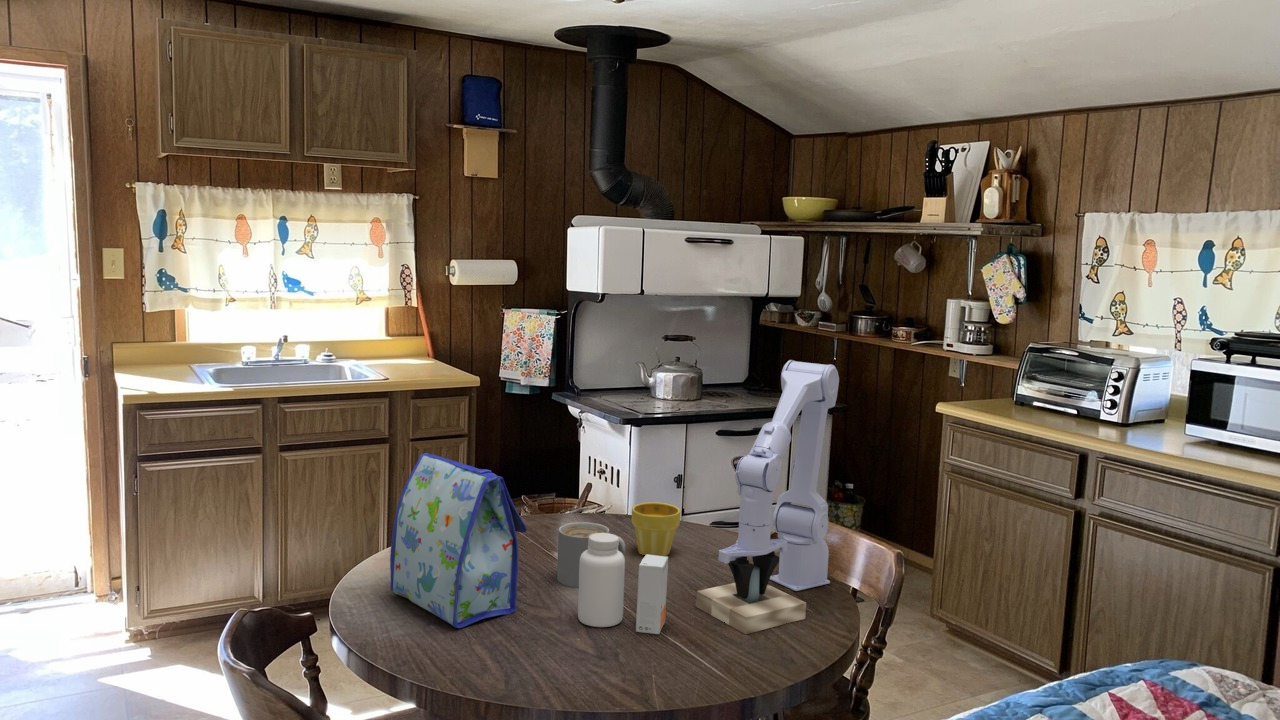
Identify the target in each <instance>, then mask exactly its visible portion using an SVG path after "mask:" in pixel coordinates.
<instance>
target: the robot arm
mask: <svg viewBox="0 0 1280 720" xmlns="http://www.w3.org/2000/svg"><path fill="white" fill-rule="evenodd" d="M780 382H781V383H780V385H781V386H780V387H781V390H782V393H781V396H780V398H779V400H778V404H777V406H776V409H775V411H774V414H773V417H772V420H771V421H769V422H767V423H765V424H763V425H762V427H761V429H760V431H759V432H758V435H757V437H756V439H755V441H754V442H753V445H752V447H751V449H750V451H749V453H748V454H746V455H745V456H742V457H741V458H740V459H739V461H738V462H737V465H736V469H735V473H734V477H735V478H734V479H735V482H736V484H737V494H738V496H739V499H740V500H739V515H738V517H739V518H738V519H739V520H738V537H737V539H736V541H735V543H734V544H732V545H730V546H728V547H726V548H723V549H719V550H718V562H721V563H723V564H726V565H728V567H729V569H730V572H731V574H732V577H733V580H734V583H735V585H736V590H737V595H738V596H740V597H742V598H744V599H746V598H747V597H748V594H749V583H750V578H751V574H752V571H753V568H754V566H756V567H759V568H760V581H759V594H761V595H763V594H765V591H766V588H767V585H769V581H772V582H775V583H776V584H779V585H781V586H784V587H785V588H788V589H790V590H792V591H795V592H798V591H803V590H807V589H811V588H815V587H819V586H823V585H824V586H825V585H828V584H831V581H830V580H829V579H828V571H829V569H828V568H829V555H830V552H829V550H830V549H829V546H828V544H827V542H826V540H825V539H824V538H825V537H826V535H827V532H828V529H829V517H828V516H829V515H828V512H829V504H828V503H827V501H826V500H825V499H824V498H823V497H822V495H820V493H819V492H818V491H817V489H818V479H819V472H820V466H821V465H820V464H821V459H822V452H823V445H824V437H825V430H826V424H827V416H828V411H829V409H832V408H834V407H835V406H836V401H837V398H838V392H839V383H840V377H839V372H838V369H837V368H836V366H835V365H834V364H823V363H822V364H821V363H815V362H814V363H813V362H812V363H811V362H805V361H804V362H803V361H796V360H793V359H789V360H788V361H787V362H786V363H785V364H784V365H783V367H782V370H781V375H780ZM800 412H801V413H800ZM799 414H801V415H800V422H799V429H798V430H799V431H798V434H797V435H798V437H797V444H796V450H795V457H794V459H795V460H794V464H793V473H792V478H791V479H792V480H791V486H790V489H788V490H787V491H784V492H782V493H781V494H780V495H779V496H778V498H777V501H776V505H775V508H774V510H773V494H774V493H773V492H774V490H775V489H776V487H778V486H777V485H778V484H779V481H780V476H781V472H782V471H781V470H782V467H783V463H782V461H783V460H782V459H783V458H784V456H785V454H786V451H787V449H788V447H789V445H790V443H791V441H792V434H791V432H790V429H791V428H792V426H793V424H794V423H795V421H796V420H797V418H798V416H799ZM802 505H803V506H802ZM772 512H773V514H772ZM772 527H773V531H774V532H775V533H777V538H771V528H772ZM778 552H779V555H776V554H775V553H778ZM748 558H752V563H751V562H750V561H749V559H748ZM777 565H778V574H774V575H772V574H773V572H774V570H776V567H777Z"/></svg>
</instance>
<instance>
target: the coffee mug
mask: <svg viewBox="0 0 1280 720" xmlns="http://www.w3.org/2000/svg"><path fill="white" fill-rule="evenodd" d="M557 531H558V532H557V533H558V534H557V535H558V536H557V537H558V538H557V539H558V540H557V566H556V567H557V570H556V571H557V572H556V573H557V574H556V575H557V576H556V579H557V582H558V583H559V584H561V585H564V586H566V587H570V588H577V589H579V565H580V557H581V554H582V553H583V552H584V551H586V550H588V538H589V536H590V535H592V534H595V533H609V534H610V528H609V527H608V526H606V525H603V524H601V523H596V522H588V521H587V522H586V521H581V522H580V521H578V522H577V521H576V522H570V523H569V522H568V523H565V524H562V525H561V526H560V527H559V528H558V530H557ZM618 538H619V546H618V549H617V550H618V551H620V552H621V553H622V554H623V556H624V557H625V555H626V544H625V541H624V540H623V538H621V537H620V536H618Z"/></svg>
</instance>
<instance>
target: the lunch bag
mask: <svg viewBox="0 0 1280 720" xmlns="http://www.w3.org/2000/svg"><path fill="white" fill-rule="evenodd" d="M527 528H528V527H527V525H526V523H525V522H524V519H523V518H522V517H521V515H520V514H519V512H518V511H517V508H516V506H515V505H514V503H513V500H512V498H511V495H510V493H509V491H508V488H507V486H506V483H505V480H504V477H503V476H499V475H497V474H495V473H493V472H492V470H490V469H485V468H484V469H483V468H477V467H474V466H473V465H472V466H471V465H468V464H464V463H461V462H458V461H456V460H454V459H453V460H452V459H449V458H445V457H442V456H438V455H436V454H432V453H431V454H430V453H429V452H425V453H422V454H420V456H419V458H418V459H417V461H416V462H415V465H414V467H413V469H412V471H411V473H410V475H409V477H408V479H407V480H406V483H405V484H404V486H403V489H402V492H401V495H400V497H399V500H398V504H397V508H396V511H395V516H394V523H393V529H392V534H391V535H392V536H391V545H390V557H389V558H390V559H389V560H390V561H389V562H390V567H389V568H390V590H391V592H393V593H394V594H396V595H398V596H399V597H403V598H404V599H408V600H409V601H410V602H411V603H413V604H415V605H417V606H419V607H420V608H422V609H424V610H425V611H428V612H429V613H431V614H433V615H435V616H436V617H438V618H440V619H441V620H443V621H444V622H446V623H448V624H449V625H451V626H452V627H454V628H455V629H462V628H464V627H466V626H469V625H472V624H475V623H476V622H478V621H481V620H483V619H487V618H492V617H497V616H502V615H503V616H504V615H505V616H506V614H507V615H510V614H513V613H515V611H516V610H517V598H518V579H519V578H518V575H519V543H518V537H517V533H526V532H527V530H528V529H527Z"/></svg>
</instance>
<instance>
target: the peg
mask: <svg viewBox="0 0 1280 720" xmlns="http://www.w3.org/2000/svg"><path fill="white" fill-rule="evenodd" d="M759 581H760V568H759V567H756V566H754V568H753V571H752V574H751V578H750V583H749V594H748V597H747V598H746V599H744V598H742V597H740V596H739V599H741V600H743V601H745V602H747V603H749V604H751V603H756V602H759Z"/></svg>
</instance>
